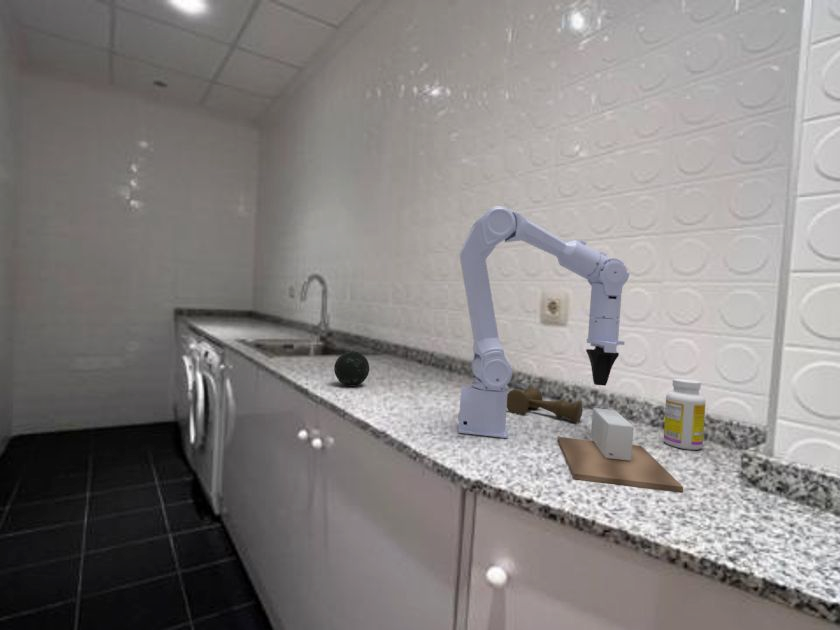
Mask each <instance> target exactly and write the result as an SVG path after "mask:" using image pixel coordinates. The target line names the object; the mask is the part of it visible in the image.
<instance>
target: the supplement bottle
mask: <svg viewBox="0 0 840 630" xmlns="http://www.w3.org/2000/svg"><path fill="white" fill-rule="evenodd" d="M701 384H702V382H700V381H698V380H695V379H686V378H673V379H672V386H673V390H670V391H669V392H667V394H666V396H665V406H664V407H665V410H664V425H663V441H664V443H665V444H666V445H669V446H671V447H674V448H677V449H678V448H679V449H682V450H688V451H689V450H691V451H697V450H700V449H702V448H703V443H704V432H705V431H704V430H705V415H706V399H705V397H704V396H703V395H702V394H700V390H701Z"/></svg>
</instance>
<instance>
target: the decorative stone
mask: <svg viewBox="0 0 840 630" xmlns="http://www.w3.org/2000/svg"><path fill="white" fill-rule="evenodd" d="M333 367H334V371H333V372H334V375H335V377H336V379H337V380H338V382H339V383H341V384H343V385H345V386H348V385H356V386H359V385H360V384H362V383H363V382H365V381H366V379H367V378H368V376H369V373H370V363H369V360H368V359H367V357H366V356H365V355H364V354H362V353H361V352H359V351H355V350H351V351H350V350H349V351H346V352H343V353H342V354H340V355H339V356H338V358H337V359H336V360H335V363H334V366H333Z"/></svg>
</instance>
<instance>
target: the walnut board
mask: <svg viewBox="0 0 840 630" xmlns="http://www.w3.org/2000/svg"><path fill="white" fill-rule="evenodd" d="M557 443H558V445H559V448H560V451H561V452H562V454H563V457H564V459H565V462H566V464H567V467H568V469H569V471H570V473H571V476H572V478H573V480H581V481H589V482H595V483H602V484H603V483H604V484H605V483H606V484H611V485H612V484H613V485H619V486H628V487H635V488H636V487H637V488H643V489H644V488H645V489H651V490H653V489H654V490H659V491H660V490H661V491H668V492H676V493H683V492H684V486H683V485H682V484H681V483H680V482H679V481H678V480H677V479H676V478H675V477H674V476H673V475H672V474H671V473H670V472H668V471H667V469H665V468H664V466H663V465H661V464H660V463H659V462H658V461H657V459H656V458H654V457H653V456H652V454H650V453H649V451H647V450H646V449H645V447H643V446H642V445H637V444H632V454H631V461H627V460H618V459H607V458H605V457H604V456H603V454H602V453H601V451H600V450H599V448H598V447H597V446H596V444H595V443H594V441H593V440H592V439H591V440H589V439H582V438H581V439H580V438H570V437H562V436H557Z"/></svg>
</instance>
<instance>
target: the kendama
mask: <svg viewBox="0 0 840 630" xmlns="http://www.w3.org/2000/svg"><path fill="white" fill-rule="evenodd" d="M529 408H531V409H530V410H537V409H540V408H541V409H542V410H545V411H548V412H549V413H550V412H551V413H553V414H554V415H555V416H556V417H557V418H559V419H560V418H566V419H568V420H569V421H572V423H573V424H577V422H578V423H579V422H580V421H581V419H582V416H583V404H582V401H579V400H578V401H575V402H568V401H566V400H564V399H559V400H551V401H550V400H543V395H542V393H541V391H539V389H538V388H534V387H527V388H525V389H524V390H520V389H512V390H508V395H507V411H509V412H510V413H511V412H512V413H511V414H514V413H516V414H515V415H519V414H522V415H524V414H526V412H527V411H528V409H529Z"/></svg>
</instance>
